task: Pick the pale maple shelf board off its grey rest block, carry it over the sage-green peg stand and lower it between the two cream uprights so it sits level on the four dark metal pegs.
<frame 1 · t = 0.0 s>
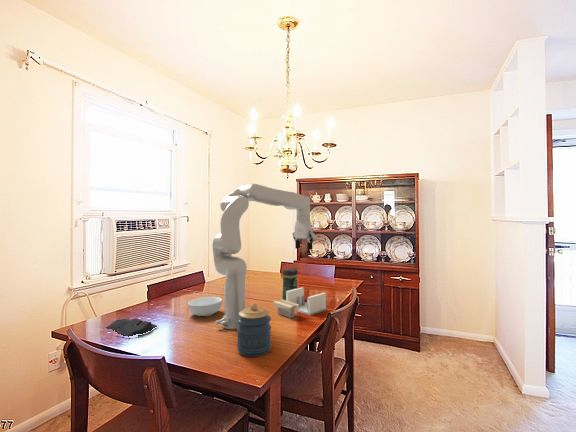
hand: (303, 248, 175), 31 cm above the table, fingers open, 9 cm apart
board: (286, 308, 158), point 3 cm above the table, touching rest block
peg stand: (305, 308, 167), on the table
rest block: (286, 314, 158), on the table
canister: (254, 350, 119), on the table
coffee jar: (290, 299, 186), on the table
dark slate chunk: (129, 331, 141), on the table
cereal bowl: (205, 314, 162), on the table
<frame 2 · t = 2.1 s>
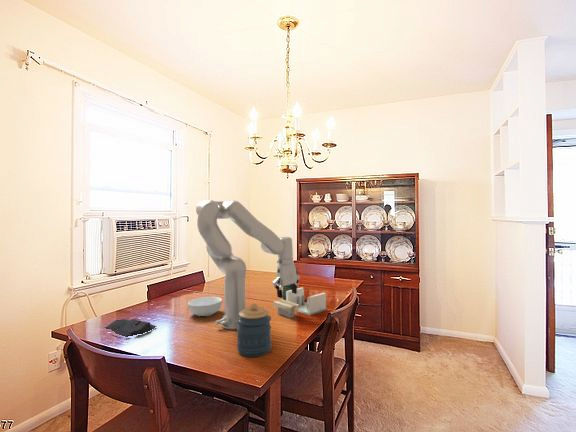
hand: (287, 295, 158), 10 cm above the table, fingers open, 9 cm apart
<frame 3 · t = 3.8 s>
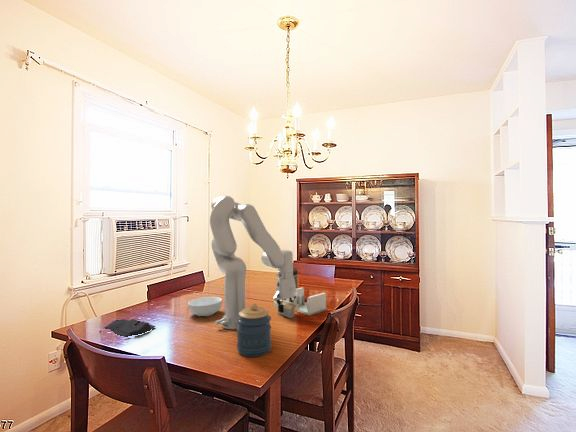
hand: (286, 310, 158), 2 cm above the table, fingers closed on board, 6 cm apart
board: (286, 308, 158), point 3 cm above the table, touching gripper, rest block
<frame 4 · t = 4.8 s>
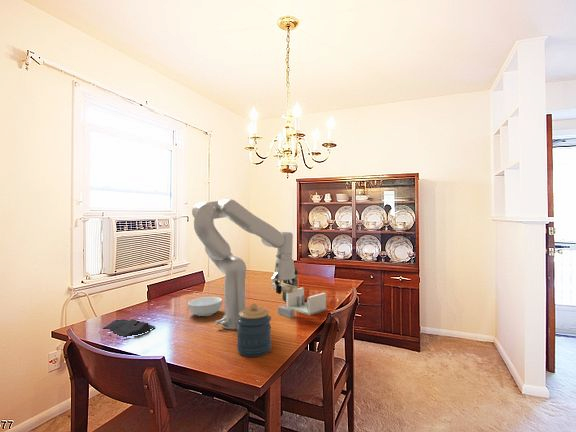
hand: (283, 292, 157), 12 cm above the table, fingers closed on board, 6 cm apart
board: (283, 289, 157), point 13 cm above the table, touching gripper
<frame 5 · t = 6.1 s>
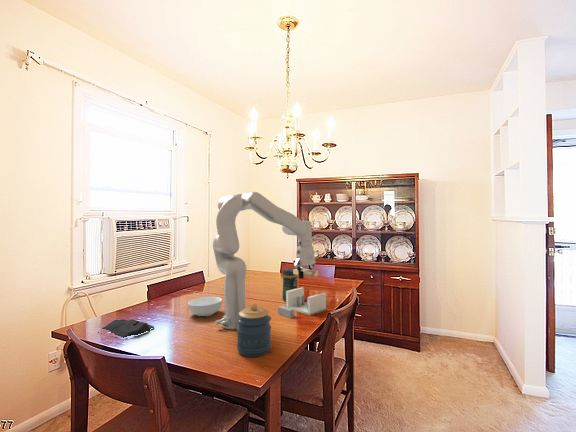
hand: (305, 277, 167), 17 cm above the table, fingers closed on board, 6 cm apart
board: (305, 274, 167), point 18 cm above the table, touching gripper
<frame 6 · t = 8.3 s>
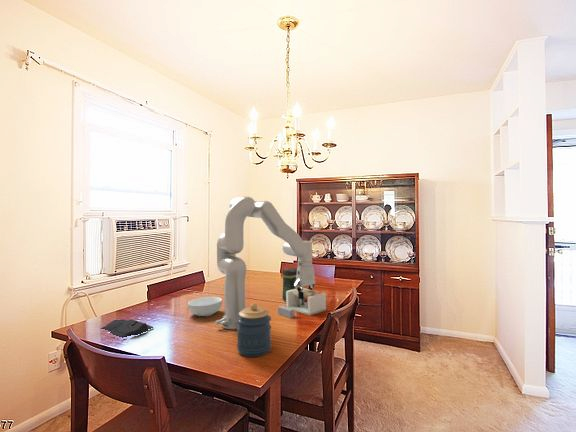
hand: (305, 297, 167), 6 cm above the table, fingers closed on board, 6 cm apart
board: (305, 295, 167), point 7 cm above the table, touching gripper
when the fingers open (6 cm above the table, at t = 8.3 s): board drops 1 cm, resting on peg stand.
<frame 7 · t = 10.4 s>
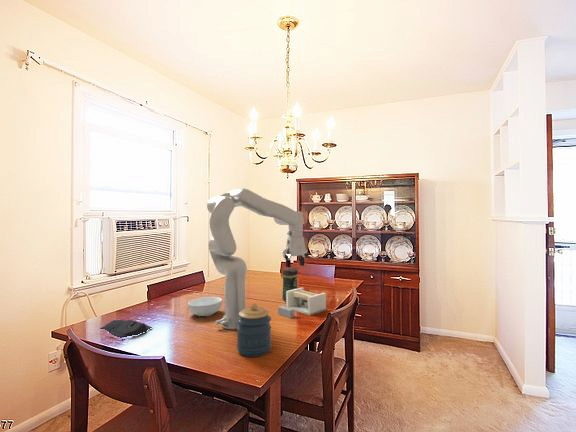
hand: (295, 266, 167), 23 cm above the table, fingers open, 9 cm apart
board: (305, 297, 167), point 6 cm above the table, touching peg stand
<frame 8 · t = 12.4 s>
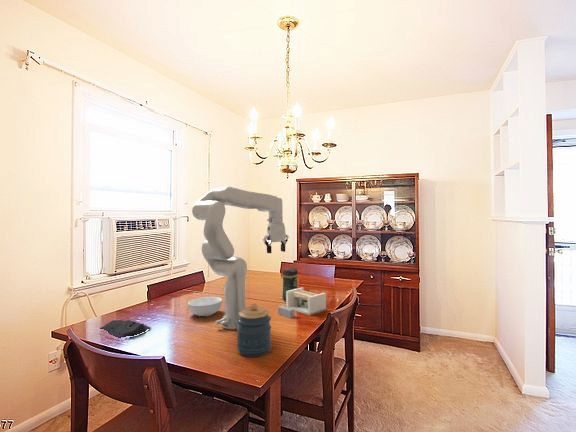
hand: (276, 252, 169), 30 cm above the table, fingers open, 9 cm apart
at the end: board 0.1 cm off-centre on the peg stand, point 6.0 cm above the peg stand's base; board tilted 0°; the gripper is holding nothing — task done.
